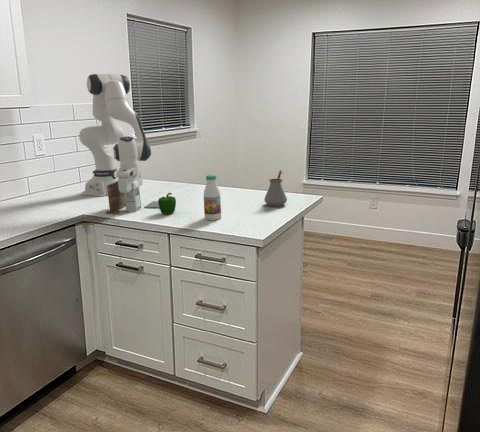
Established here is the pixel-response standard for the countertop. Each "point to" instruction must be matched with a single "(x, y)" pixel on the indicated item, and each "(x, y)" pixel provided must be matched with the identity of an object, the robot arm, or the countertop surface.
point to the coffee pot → (275, 193)
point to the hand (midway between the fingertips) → (132, 198)
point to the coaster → (152, 205)
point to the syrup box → (133, 198)
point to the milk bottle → (212, 199)
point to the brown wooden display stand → (115, 199)
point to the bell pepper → (167, 204)
